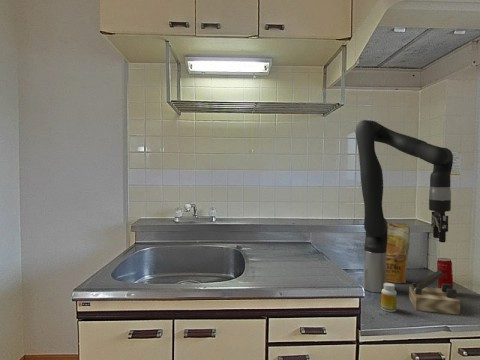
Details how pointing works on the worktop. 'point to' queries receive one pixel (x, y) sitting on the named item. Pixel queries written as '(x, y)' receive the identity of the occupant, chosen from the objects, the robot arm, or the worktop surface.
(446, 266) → the beverage can
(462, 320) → the worktop surface
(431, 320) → the worktop surface
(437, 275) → the bar
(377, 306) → the worktop surface
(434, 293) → the oak box
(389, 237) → the pancake mix bag
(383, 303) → the supplement bottle
